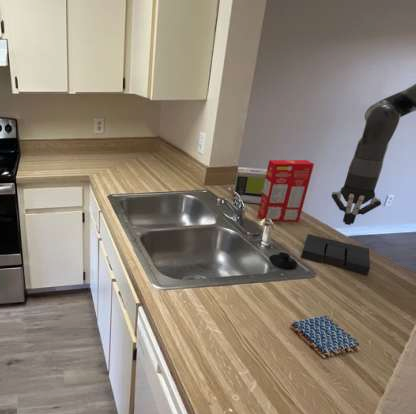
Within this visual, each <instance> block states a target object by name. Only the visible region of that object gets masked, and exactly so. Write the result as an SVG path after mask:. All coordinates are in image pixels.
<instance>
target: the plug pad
mask: <svg viewBox="0 0 416 414" xmlns="http://www.w3.org/2000/svg"><path fill="white" fill-rule="evenodd" d="M344 263H345V248H341V247H337V246H333V245H329V244H328V245H327V248H326V251H324V256H323V261H322V264H325V265H329V266H333V267H337V268H341V269H342V268H343V266H344Z"/></svg>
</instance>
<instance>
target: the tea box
mask: <svg viewBox="0 0 416 414" xmlns="http://www.w3.org/2000/svg"><path fill="white" fill-rule="evenodd" d="M267 169H268V168H258V167H257V168H256V167H242V166H238V167H237V170H236V177H235V182H234V183H235V185H234V191H235V192H237V193H238V194H239V195H240V197H241V198H242V200H243V201H244V202H243V203H250V204H259V205H260V202H261V197H262V193H263V188H264V183H265V178H266V173H267ZM234 191H233V192H234ZM234 199H235V197H234V196H233V200H234Z"/></svg>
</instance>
